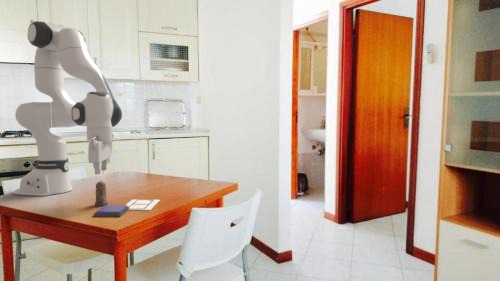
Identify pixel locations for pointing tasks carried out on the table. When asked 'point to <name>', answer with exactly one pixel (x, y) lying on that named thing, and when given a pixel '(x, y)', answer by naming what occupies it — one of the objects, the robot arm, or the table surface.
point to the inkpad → (111, 211)
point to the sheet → (141, 204)
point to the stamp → (101, 194)
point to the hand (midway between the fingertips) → (101, 172)
